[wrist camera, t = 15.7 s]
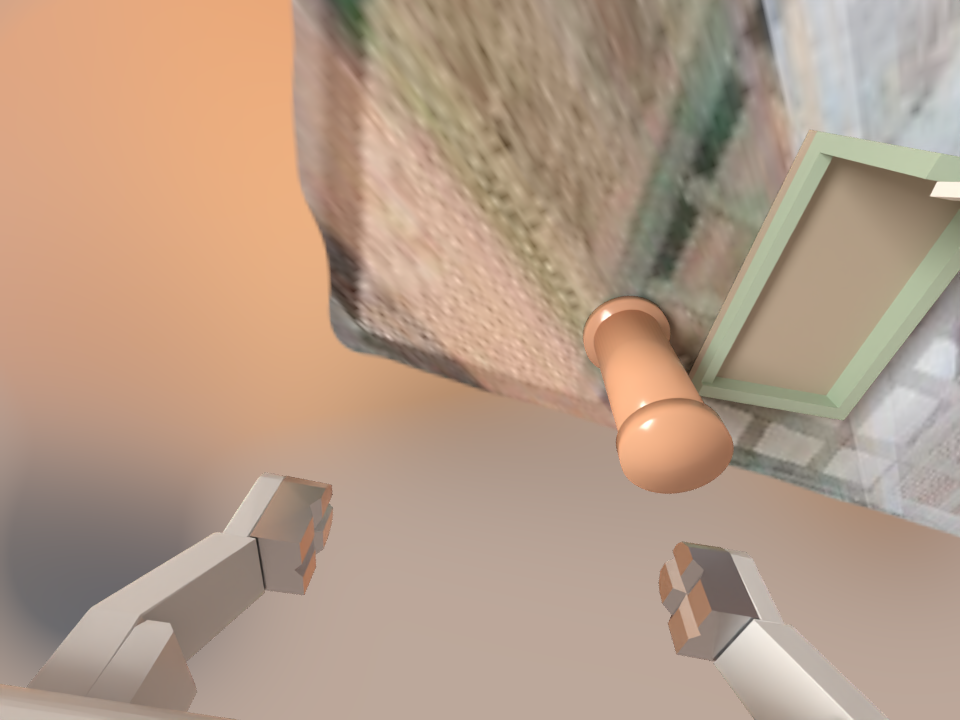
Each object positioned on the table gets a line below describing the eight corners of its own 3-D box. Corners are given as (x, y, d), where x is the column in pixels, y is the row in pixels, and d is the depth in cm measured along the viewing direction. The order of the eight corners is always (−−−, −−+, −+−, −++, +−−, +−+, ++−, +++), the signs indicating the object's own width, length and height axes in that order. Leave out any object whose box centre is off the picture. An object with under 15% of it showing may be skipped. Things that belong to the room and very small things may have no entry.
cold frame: (809, 129, 33) (941, 153, 22) (995, 164, 33) (1207, 203, 23) (687, 377, 44) (737, 466, 34) (825, 400, 45) (915, 496, 35)
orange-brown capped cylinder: (600, 300, 39) (639, 406, 27) (677, 311, 39) (752, 423, 27) (581, 364, 43) (607, 485, 30) (651, 375, 43) (707, 500, 30)
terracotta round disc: (596, 289, 40) (598, 294, 39) (679, 303, 40) (683, 309, 39) (573, 360, 44) (574, 366, 43) (649, 373, 44) (652, 380, 43)
